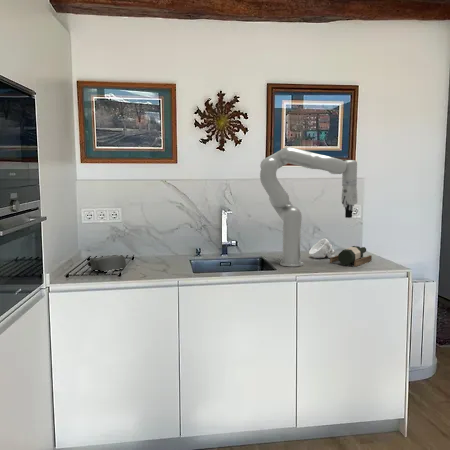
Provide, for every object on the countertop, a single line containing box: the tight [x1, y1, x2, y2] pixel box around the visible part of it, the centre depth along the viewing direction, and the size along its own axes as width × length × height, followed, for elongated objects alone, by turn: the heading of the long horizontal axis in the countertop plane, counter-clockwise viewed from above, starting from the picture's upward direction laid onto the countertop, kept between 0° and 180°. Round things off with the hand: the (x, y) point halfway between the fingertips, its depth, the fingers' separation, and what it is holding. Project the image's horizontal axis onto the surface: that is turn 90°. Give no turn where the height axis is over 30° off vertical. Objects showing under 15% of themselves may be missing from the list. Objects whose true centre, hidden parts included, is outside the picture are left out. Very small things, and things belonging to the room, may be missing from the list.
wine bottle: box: [337, 245, 367, 266], centre depth 246 cm, size 8×8×30 cm
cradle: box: [329, 254, 373, 268], centre depth 245 cm, size 15×20×3 cm
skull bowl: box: [308, 238, 336, 259], centre depth 259 cm, size 10×14×12 cm
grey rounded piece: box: [87, 254, 127, 272], centre depth 231 cm, size 18×11×8 cm, turn 134°
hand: (348, 217), depth 239 cm, fingers closed
